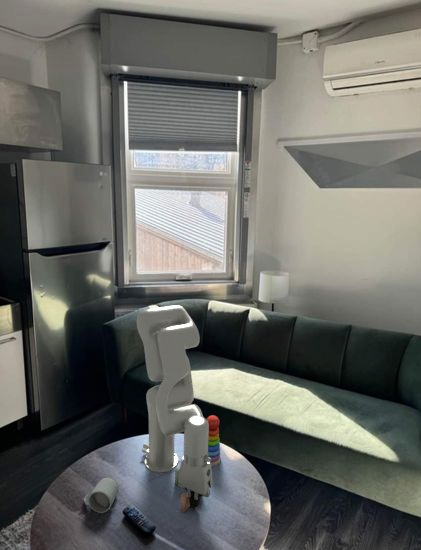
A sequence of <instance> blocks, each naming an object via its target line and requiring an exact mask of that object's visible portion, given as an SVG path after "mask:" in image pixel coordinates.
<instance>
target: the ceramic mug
mask: <svg viewBox="0 0 421 550" xmlns="http://www.w3.org/2000/svg"><path fill="white" fill-rule="evenodd" d="M118 493H119V484H118V482H117V481H116V480H115V479H114V478H112V477H109V476H107V477H103V478H101V480H99V481H98V483H97V484H96V485H95V487H94V488H93V490H90V491H89V492H88V493H87V494H86V495H85V496H84V498H83V502H84V504H85V505H86V506H89V507H90V508H91V510H93V512H94V511H95V512H96V513H100V514H103V513H107V512H109V510H110V509H111V507H112V505H113V504H114V501H115V499H116V497H117V495H118Z"/></svg>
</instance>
